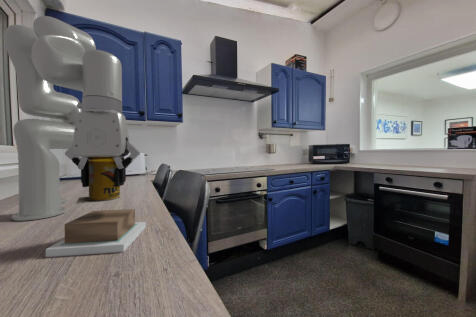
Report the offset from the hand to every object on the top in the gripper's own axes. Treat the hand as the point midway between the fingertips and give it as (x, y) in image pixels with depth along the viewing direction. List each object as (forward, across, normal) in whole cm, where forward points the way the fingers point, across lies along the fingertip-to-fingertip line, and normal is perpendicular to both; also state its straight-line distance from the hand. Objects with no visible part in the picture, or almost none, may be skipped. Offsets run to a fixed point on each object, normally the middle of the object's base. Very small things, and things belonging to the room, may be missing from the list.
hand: (104, 185), depth 46 cm
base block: (+11, 0, 0) cm, 11 cm away
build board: (+13, 0, 0) cm, 13 cm away
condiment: (+3, -1, 0) cm, 4 cm away
